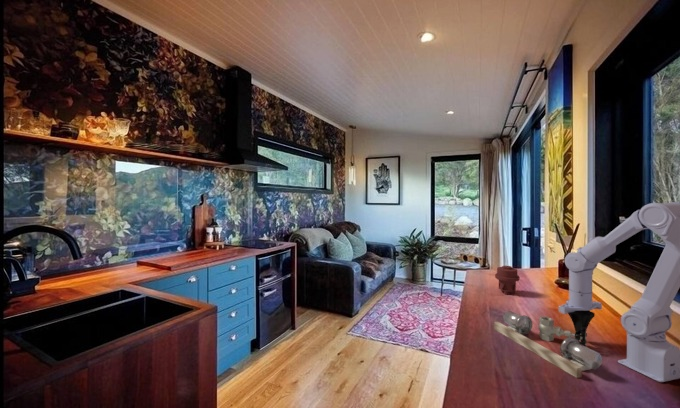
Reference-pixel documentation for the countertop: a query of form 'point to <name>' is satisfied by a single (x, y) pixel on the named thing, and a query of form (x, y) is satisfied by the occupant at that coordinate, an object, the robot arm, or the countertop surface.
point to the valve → (558, 331)
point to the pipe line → (568, 347)
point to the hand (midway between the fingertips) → (580, 333)
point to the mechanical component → (507, 279)
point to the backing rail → (539, 350)
